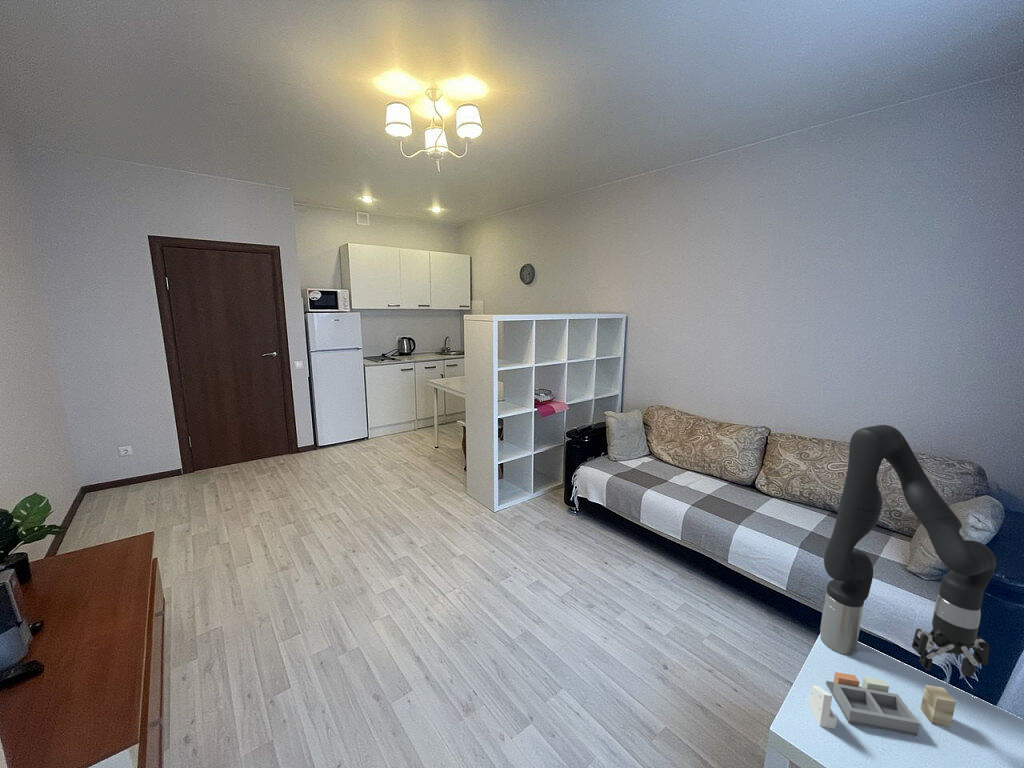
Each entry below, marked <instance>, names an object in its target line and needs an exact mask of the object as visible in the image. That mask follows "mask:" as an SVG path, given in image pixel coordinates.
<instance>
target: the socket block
mask: <svg viewBox="0 0 1024 768" xmlns="http://www.w3.org/2000/svg"><path fill="white" fill-rule="evenodd" d="M825 685H826V686H827V688H828V690H829V691H830V694H831V695H832V698H833V699H834V700H835V702H836V703H837V706H838V707H839V709H840V710H841V713H842V714H843V716H844V718H845V720H846V722H847V723H848V724H851V725H857V726H861V727H866V728H871V729H878V730H883V731H888V732H893V733H898V734H902V735H903V734H904V735H908V736H913V737H917V736H918V731H919V727H920V722H919V721H918V719H917V718H916V717H915V715H914V714H913V713H912V711H911V710H910V709H909V708H908V706H907V705H906V703H905V702H904V701H903V699H902V698H901V697H900V695H899V693H892V692H889V691H890V686H889V684H888V683H887V681H886V680H885V679H879V678H875V677H874V678H873V677H869V676H863V678H862V684H861V686H860V680H859V679H858V677H857V676H856V675H855V674H850V673H843V672H838V671H835V672H834V675H833V681H831V680H830V681H828V680H826V682H825Z"/></svg>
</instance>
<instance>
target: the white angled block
mask: <svg viewBox="0 0 1024 768" xmlns="http://www.w3.org/2000/svg"><path fill="white" fill-rule="evenodd" d="M809 690H810V691H809V700H808V707H809V709H810V711H811V713H812V715H813V716H814V719H816V722H817V724H818V726H819V727H822V728H823V727H824V728H829V729H834V730H836V728H837V722H838V718H837V717H836V714H835V713H834V711H833V710H832V708H831V707H832V701H833V695H832V694H831V693H829V692H827V691H826V690H825V689H823V688H822V687H821V686H819V685H813V684H811V685H810V689H809Z"/></svg>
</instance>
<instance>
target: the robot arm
mask: <svg viewBox="0 0 1024 768" xmlns="http://www.w3.org/2000/svg"><path fill="white" fill-rule="evenodd" d="M848 448H849V449H848V461H847V462H848V463H847V464H848V465H847V471H846V476H845V480H844V484H843V489H842V493H841V496H840V501H839V505H838V511H837V516H836V520H835V523H834V527H833V530H832V534H831V536H830V539H829V541H828V544H827V547H826V548H825V552H824V557H823V565H824V566H823V567H824V569H825V571H826V573H827V575H828V576H829V577H830V578H831V579H832V580H830V581H828V582H827V585H826V591H825V599H824V605H823V608H822V613H821V622H820V628H819V631H820V632H819V633H820V634H819V639H820V640H821V641H822V643H823V644H824V645H825V646H827V647H828V648H829V649H831V650H833V651H835V652H837V653H839V654H843V655H854V654H855V653H856V652H857V647H858V641H859V634H860V629H861V624H862V618H863V617H862V616H863V610H864V604H865V601H866V600H867V599H868V597H869V595H870V592H871V587H872V583H873V579H874V566H873V563H872V561H871V558H870V557H869V555H867V554H866V553H865V552H864V551H862V550H860V549H855V547H856V545H857V544H858V543H859V542H860V541H861V540H863V538H864V537H865V536H867V535H868V534H869V533H870V532H871V531H872V530H873V529H874V528H875V527H876V526H877V524H878V522H879V520H880V516H881V512H882V510H883V509H882V508H883V496H882V493H881V491H880V487H879V484H878V473H879V470H880V467H881V464H882V462H883V460H884V459H885V460H886V461H887V463H889V465H890V466H891V467H892V468H893V470H894V472H895V473H896V475H897V476H898V479H899V481H900V484H901V489H902V493H903V496H904V498H905V501H906V503H907V505H908V507H909V509H910V510H911V511H912V513H913V514H914V516H915V517H916V518H917V519H918V521H919V523H921V525H922V527H924V529H925V530H926V533H927V534H928V538H929V540H930V543H931V545H932V546H933V547H932V548H933V549H934V552H935V553H936V555H937V556H938V558H939V560H940V561H941V562H942V563H943V564H944V565H945V566H946V567H947V568H948V569H949V571H948V572H947V573H945V574H944V575H943V577H942V578H941V581H940V587H939V591H938V595H937V597H936V600H935V604H934V610H933V615H932V621H931V626H932V630H931V631H930V632H927V631H924V630H922V629H921V628H916V630H915V632H914V635H913V640H912V643H911V648H913V649H914V651H915V652H916V653H917V654H918V655H919V663H920V665H921V666H922V667H923V669H924V670H925V671H928V672H929V671H932V664H933V658H935V657H936V656H942V655H943V654H944V653H945V654H954V655H957V656H960V655H962V656H963V658H962V662H961V666H960V671H961V672H962V674H964V675H965V676H966V677H968V678H972V677H973V676H974V674H975V670H976V668H977V666H978V665H979V664H981V665H983V666H987V665H988V663H989V655H990V649H991V646H990V644H989V643H987V642H986V641H985V640H984V639H983V638H982V637H981V636H978V631H979V626H980V622H981V615H982V614H981V609H982V604H983V603H982V602H983V598H984V592H985V589H986V588H987V586H988V584H989V583H990V581H991V580H992V577H993V575H994V572H995V569H996V566H997V559H996V557H995V554H994V553H993V551H992V550H991V548H990V547H988V546H987V545H986V544H984V543H982V542H980V541H976V540H973V539H972V540H971V539H970V540H969V539H968V540H967V539H966V540H964V538H963V537H962V534H961V533H960V530H961V529H962V526H963V524H962V522H961V520H960V519H959V517H958V516H957V515H956V514H955V512H954V511H953V510H952V509H951V507H950V506H949V504H948V503H947V502H946V501H945V499H943V498H942V496H941V495H940V493H939V492H938V491H937V489H936V488H935V486H934V484H932V482H931V480H930V479H929V477H928V476H927V474H926V472H925V471H924V469H923V467H922V466H921V463H920V462H919V460H918V459H917V456H915V454H914V452H913V450H912V448H911V446H910V444H909V443H908V441H907V439H906V438H905V436H904V435H903V433H902V432H901V431H900V430H899V429H898V428H896V427H894V426H892V425H888V424H878V425H873V426H868V427H867V426H866V427H863V428H859V429H857V430H856V431H854V433H853V434H852V435H851V438H850V442H849V447H848ZM820 635H821V636H820ZM934 645H936V647H937V648H936V647H935V646H934ZM972 648H973V654H972V652H971V651H970V650H971V649H972Z"/></svg>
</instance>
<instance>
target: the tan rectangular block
mask: <svg viewBox="0 0 1024 768" xmlns="http://www.w3.org/2000/svg"><path fill="white" fill-rule="evenodd" d="M956 704H957V701H956V700H955V699H954V697H953V696H951V694H949V693H948V691H947V690H946V689H945V688H944V687H941V686H934V685H929V684H925V685H924V690H923V695H922V699H921V704H920V708H919V709H920V711H921V712H922V714H923V715H924V716H925V717H926V719H927V720H928V721H929V722H930V724H932V725H935V726H942V727H947V728H951V726H952V721H953V718H954V717H953V716H954V714H955V708H956Z"/></svg>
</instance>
